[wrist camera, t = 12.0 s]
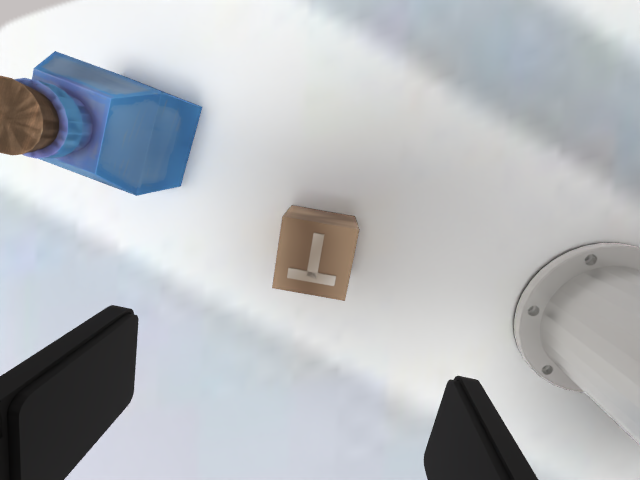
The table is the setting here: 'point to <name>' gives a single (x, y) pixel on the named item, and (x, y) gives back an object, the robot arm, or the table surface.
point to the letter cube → (315, 252)
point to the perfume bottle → (98, 125)
